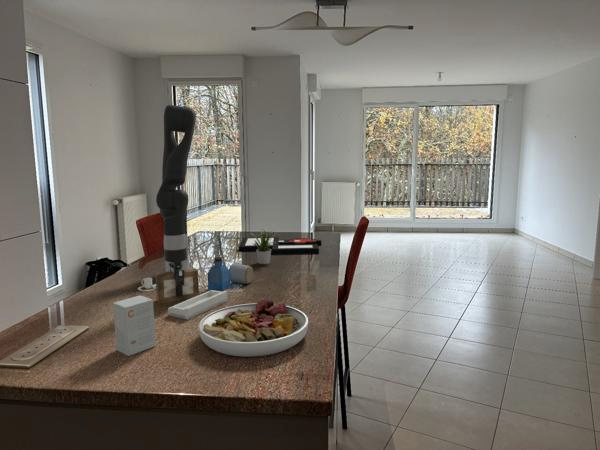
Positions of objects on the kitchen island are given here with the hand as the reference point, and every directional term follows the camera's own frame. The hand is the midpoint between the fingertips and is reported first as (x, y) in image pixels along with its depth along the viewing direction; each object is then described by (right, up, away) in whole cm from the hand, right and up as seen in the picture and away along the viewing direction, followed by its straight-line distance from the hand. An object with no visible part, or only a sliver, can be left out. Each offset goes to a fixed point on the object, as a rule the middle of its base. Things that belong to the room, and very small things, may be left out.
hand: (177, 294), depth 157 cm
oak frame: (0, -2, 0) cm, 2 cm away
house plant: (+27, +6, +52) cm, 59 cm away
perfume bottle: (+12, 0, +13) cm, 18 cm away
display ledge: (+10, -3, -9) cm, 14 cm away
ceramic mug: (+20, +1, +21) cm, 29 cm away
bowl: (+31, -7, -34) cm, 46 cm away
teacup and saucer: (-14, -1, +12) cm, 18 cm away
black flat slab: (+33, +11, +89) cm, 95 cm away
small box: (0, -8, -40) cm, 41 cm away
